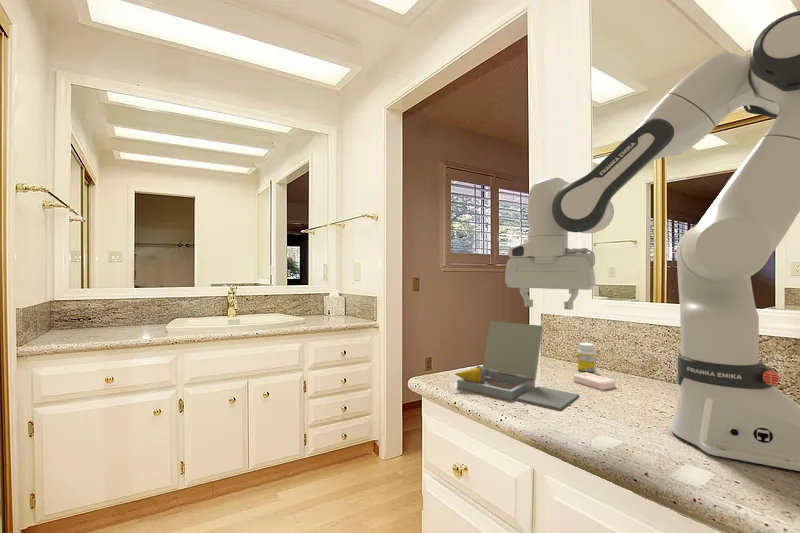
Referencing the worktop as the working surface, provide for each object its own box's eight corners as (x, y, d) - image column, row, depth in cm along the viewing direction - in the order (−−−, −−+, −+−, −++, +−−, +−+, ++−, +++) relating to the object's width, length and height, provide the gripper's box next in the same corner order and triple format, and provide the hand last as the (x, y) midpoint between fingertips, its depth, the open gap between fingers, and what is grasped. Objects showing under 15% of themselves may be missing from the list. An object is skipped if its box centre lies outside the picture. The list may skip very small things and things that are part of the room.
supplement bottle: (582, 369, 121) (582, 341, 121) (598, 373, 118) (598, 344, 118) (574, 372, 118) (574, 343, 118) (591, 376, 115) (590, 346, 115)
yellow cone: (488, 367, 108) (452, 362, 106) (496, 368, 103) (458, 363, 101) (486, 388, 107) (450, 384, 105) (495, 390, 102) (457, 385, 100)
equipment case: (546, 381, 110) (546, 324, 110) (511, 400, 94) (511, 334, 94) (496, 371, 120) (495, 319, 120) (457, 387, 104) (457, 327, 104)
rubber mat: (578, 397, 96) (578, 394, 96) (560, 410, 87) (560, 408, 87) (537, 388, 103) (537, 386, 103) (516, 400, 94) (516, 398, 94)
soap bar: (586, 380, 112) (586, 371, 112) (616, 389, 104) (616, 379, 104) (572, 382, 109) (572, 373, 109) (602, 392, 101) (602, 382, 101)
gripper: (599, 247, 91) (599, 309, 91) (513, 250, 104) (514, 304, 104) (590, 247, 86) (590, 312, 86) (501, 250, 100) (502, 306, 100)
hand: (548, 308), depth 95 cm, fingers open, 8 cm apart
